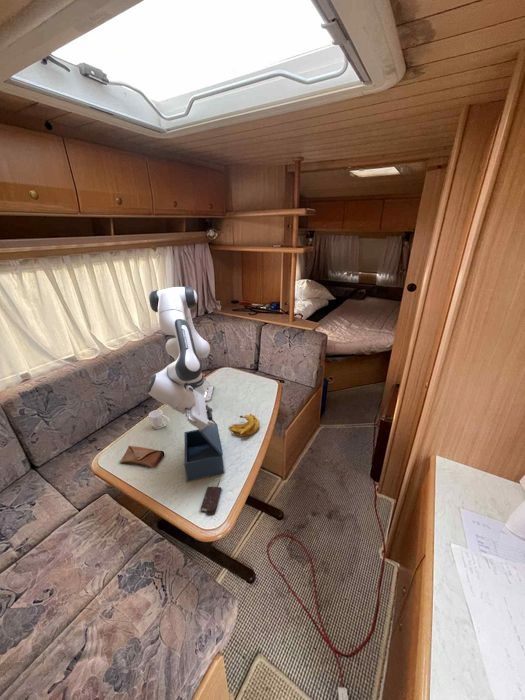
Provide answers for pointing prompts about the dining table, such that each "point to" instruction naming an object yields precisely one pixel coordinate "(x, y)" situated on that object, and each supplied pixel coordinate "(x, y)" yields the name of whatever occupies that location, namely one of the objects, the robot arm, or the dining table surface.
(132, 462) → the sunglasses case
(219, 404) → the dining table surface
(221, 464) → the cool box
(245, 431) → the banana
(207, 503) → the ice cream bar
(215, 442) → the cool box lid
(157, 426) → the cup
